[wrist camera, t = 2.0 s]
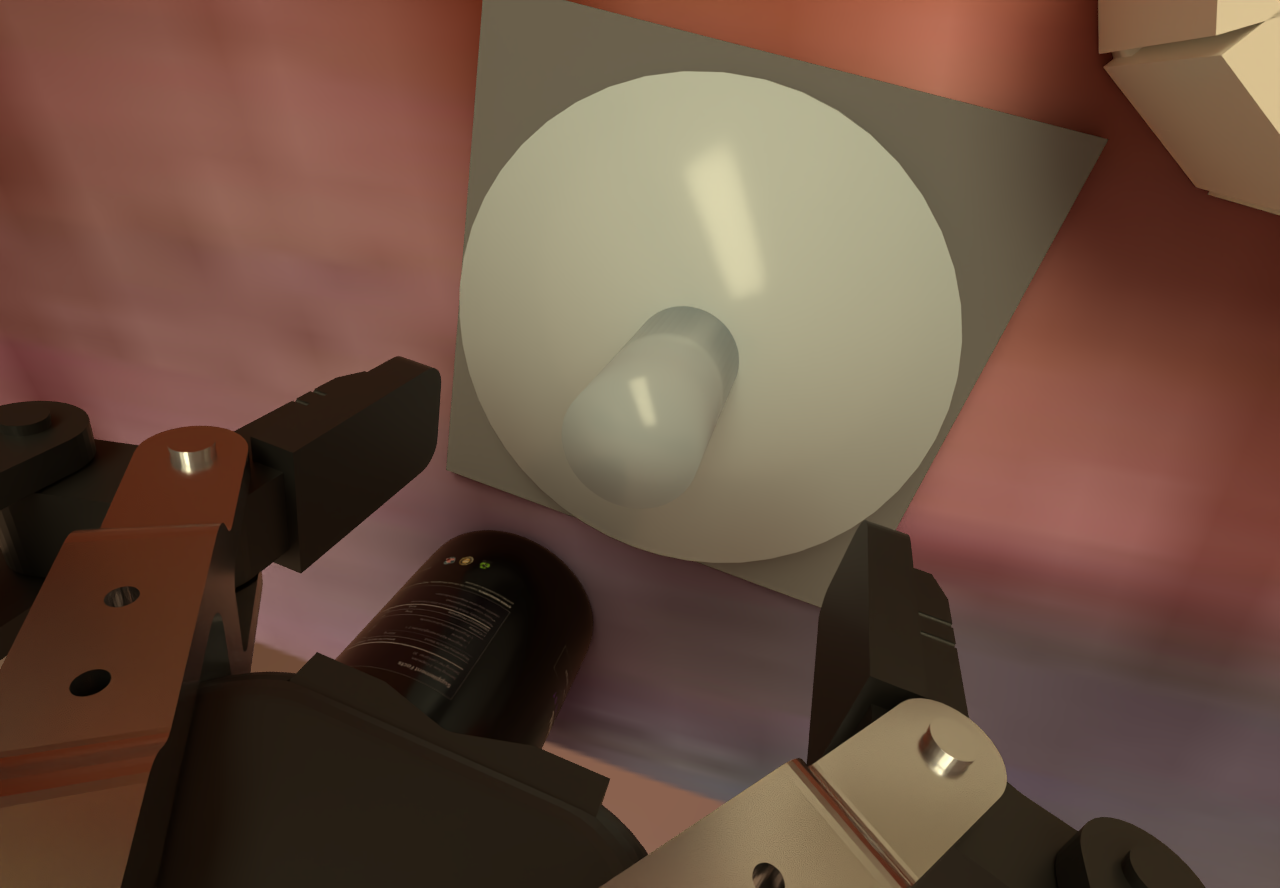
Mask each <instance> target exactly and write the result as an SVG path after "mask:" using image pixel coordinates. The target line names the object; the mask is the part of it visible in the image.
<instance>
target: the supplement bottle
mask: <svg viewBox="0 0 1280 888" xmlns="http://www.w3.org/2000/svg"><path fill="white" fill-rule="evenodd" d="M592 632H593V616H592V611H591V607H590V603H589V600H588V597H587V595H586V593H585V591H584V589H583V587H582V585H581V583H580V582H579V580H578V579H577V577H576V576H575V575H574V573H573V572H572V571H571V570H570V569H569V567H568V566H567V565H566V564H565V563H564V562H563V561H562V560H560V559H559V558H558V557H557V556H556V555H555V554H553V553H552V552H550V551H549V550H548V549H546V548H544V547H543V546H541V545H540V544H538V543H536V542H534V541H532V540H529V539H527V538H525V537H522V536H519V535H516V534H512V533H508V532H503V531H493V530H482V531H474V532H469V533H465V534H462V535H459V536H457V537H455V538H453V539H451V540H449V541H448V542H446V543H445V544H444V545H442V546H441V547H440V548H439V549H438V550H437V551H436V552H435V553H434V554H433V555H432V556H431V557H430V558H429V559H428V560H427V561H426V562H425V563H424V564H423V565H422V566H421V567H420V568H419V569H418V571H417V572H416V573H415V574H414V575H413V576H412V577H411V578H410V579H409V580H408V581H407V582H406V584H405V585H404V586H403V587H402V588H401V589H400V590H399V591H398V592H397V593H396V594H395V595H394V596H393V598H392V599H391V600H390V601H389V602H388V603H387V604H386V605H385V606H384V607H383V608H382V609H381V611H380V612H379V613H378V614H377V615H376V616H375V617H374V618H373V619H372V620H371V621H370V622H369V624H368V625H367V626H366V627H365V628H364V629H363V630H362V631H361V632H360V633H359V634H358V635H357V636H356V638H355V639H354V640H353V641H352V642H351V643H350V644H349V645H348V646H347V647H346V648H345V649H344V651H343V652H342V653H341V654H340V655H339V656H338V657H337V658H336V659H335V660H336V661H338V662H341V663H343V664H345V665H348V666H350V667H352V668H355V669H357V670H359V671H362V672H364V673H366V674H369V675H371V676H373V677H375V678H378V679H380V680H382V681H385V682H386V683H387V684H389V685H390V686H391V687H392V688H394V689H395V690H396V691H397V692H399V693H400V694H401V695H402V696H403V697H405V698H406V699H407V700H408V701H410V702H411V703H412V704H413V705H414V706H416V707H417V708H418V709H419V710H421V711H422V712H423V713H424V714H426V715H427V716H428V717H429V718H430V719H432V720H433V721H434V722H435V723H437V724H438V725H439V726H440V727H442V728H443V729H445V730H447V731H450V732H454V733H459V734H465V735H471V736H477V737H483V738H489V739H495V740H501V741H507V742H513V743H519V744H525V745H531V746H535V747H538V748H540V749H542V747H543V745H544V742H545V740H546V738H547V736H548V734H549V732H550V730H551V728H552V726H553V724H554V721H555V719H556V717H557V715H558V713H559V711H560V709H561V707H562V705H563V702H564V700H565V698H566V696H567V694H568V692H569V690H570V688H571V686H572V684H573V681H574V679H575V677H576V675H577V673H578V671H579V669H580V666H581V664H582V662H583V660H584V657H585V655H586V653H587V651H588V648H589V645H590V642H591V638H592Z"/></svg>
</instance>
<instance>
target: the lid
mask: <svg viewBox="0 0 1280 888" xmlns="http://www.w3.org/2000/svg"><path fill="white" fill-rule="evenodd" d="M459 316H460V325H461V334H462V343H463V348H464V353H465V357H466V361H467V366H468V370H469V374H470V377H471V379H472V382H473V385H474V388H475V391H476V393H477V396H478V399H479V401H480V403H481V405H482V407H483V410H484V412H485V414H486V416H487V418H488V420H489V422H490V424H491V426H492V427H493V429H494V431H495V432H496V434H497V435H498V437H499V439H500V440H501V442H502V443H503V445H504V447H505V448H506V450H507V451H508V452H509V453H510V455H511V456H512V457H513V459H514V460H515V461H516V462H517V464H518V465H519V466H520V468H521V469H522V470H523V471H524V472H525V473H526V474H527V475H528V476H529V477H530V478H531V479H532V480H533V482H534V483H535V484H536V485H537V486H538V487H539V488H540V489H541V490H542V491H543V492H545V493H546V494H547V495H548V496H549V497H550V498H552V499H553V500H554V501H555V502H556V503H558V504H559V505H560V506H561V507H562V508H564V509H565V510H567V511H568V512H569V513H571V514H572V515H574V516H575V517H577V518H578V519H580V520H581V521H583V522H584V523H586V524H587V525H589V526H591V527H593V528H595V529H596V530H598V531H600V532H602V533H604V534H606V535H607V536H609V537H612V538H614V539H616V540H619V541H621V542H623V543H626V544H628V545H630V546H633V547H636V548H639V549H642V550H645V551H649V552H652V553H655V554H658V555H663V556H667V557H672V558H677V559H682V560H688V561H699V562H710V563H742V562H750V561H758V560H766V559H772V558H776V557H780V556H784V555H788V554H792V553H797V552H800V551H802V550H805V549H808V548H810V547H813V546H816V545H818V544H821V543H824V542H826V541H828V540H830V539H832V538H834V537H836V536H837V535H839V534H841V533H843V532H845V531H847V530H849V529H851V528H852V527H854V526H855V525H857V524H858V523H860V522H861V521H862V520H864V519H865V518H867V517H868V516H870V515H871V514H873V513H874V512H875V511H877V510H878V509H879V508H880V507H881V506H882V505H883V504H884V503H885V502H886V501H888V500H889V499H890V498H891V497H892V496H893V495H894V494H895V493H896V492H898V490H899V489H900V488H901V487H902V486H903V485H904V483H905V482H906V481H907V480H908V479H909V477H910V476H911V475H912V474H913V473H914V471H915V470H916V469H917V468H918V467H919V465H920V463H921V462H922V460H923V459H924V457H925V455H926V454H927V452H928V451H929V449H930V447H931V446H932V444H933V443H934V441H935V439H936V437H937V435H938V433H939V430H940V428H941V426H942V424H943V421H944V419H945V417H946V415H947V412H948V410H949V407H950V403H951V399H952V396H953V392H954V389H955V385H956V381H957V378H958V371H959V363H960V355H961V347H962V320H961V302H960V297H959V291H958V286H957V280H956V275H955V269H954V266H953V263H952V260H951V257H950V254H949V251H948V248H947V245H946V243H945V240H944V237H943V234H942V231H941V229H940V227H939V226H938V224H937V222H936V220H935V218H934V216H933V214H932V212H931V210H930V208H929V207H928V205H927V203H926V201H925V199H924V197H923V195H922V194H921V192H920V191H919V189H918V188H917V187H916V185H915V184H914V183H913V181H912V180H911V178H910V177H909V176H908V174H907V173H906V172H905V170H904V169H903V168H902V166H901V165H900V164H899V162H898V161H897V160H896V159H895V158H894V157H893V156H892V155H891V154H890V153H889V152H888V151H887V150H886V149H885V148H884V147H883V146H882V145H881V144H880V143H879V142H878V141H877V140H876V139H875V138H874V137H873V136H872V135H871V134H870V133H869V132H868V131H866V130H865V129H864V128H862V127H861V126H860V125H858V124H857V123H855V122H854V121H853V120H851V119H850V118H849V117H847V116H846V115H845V114H843V113H842V112H840V111H839V110H837V109H835V108H834V107H832V106H830V105H828V104H826V103H824V102H822V101H820V100H818V99H816V98H814V97H812V96H810V95H809V94H807V93H805V92H802V91H799V90H796V89H793V88H790V87H787V86H784V85H781V84H779V83H776V82H773V81H770V80H766V79H760V78H755V77H749V76H743V75H738V74H732V73H725V72H694V71H681V72H674V73H666V74H659V75H651V76H644V77H641V78H638V79H634V80H631V81H627V82H624V83H620V84H617V85H614V86H610V87H608V88H606V89H603V90H601V91H599V92H597V93H595V94H593V95H591V96H588V97H586V98H584V99H582V100H580V101H578V102H576V103H574V104H573V105H571V106H570V107H568V108H567V109H565V110H564V111H562V112H561V113H559V114H558V115H556V116H555V117H553V118H552V119H550V120H549V121H547V122H546V123H545V124H544V125H543V126H542V127H541V128H540V129H539V130H537V131H536V132H535V133H534V134H533V135H532V136H531V137H530V138H529V139H528V140H526V141H525V142H524V143H523V144H522V145H521V146H520V148H519V149H518V150H517V151H516V152H515V154H514V155H513V156H512V157H511V159H510V160H509V161H508V162H507V163H506V165H505V166H504V167H503V168H502V170H501V171H500V173H499V174H498V176H497V178H496V179H495V181H494V183H493V184H492V186H491V188H490V189H489V191H488V193H487V194H486V196H485V198H484V200H483V202H482V205H481V207H480V209H479V212H478V214H477V216H476V219H475V221H474V223H473V226H472V229H471V232H470V236H469V240H468V243H467V247H466V251H465V254H464V259H463V267H462V274H461V281H460V314H459Z"/></svg>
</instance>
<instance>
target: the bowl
mask: <svg viewBox="0 0 1280 888" xmlns="http://www.w3.org/2000/svg"><path fill="white" fill-rule="evenodd" d="M1098 32H1099V54H1102V53H1108V52H1112V56H1113V58H1114V59H1113V60H1111V61H1110V62H1109V63H1108V64H1107V65H1105V66H1104V67H1103V68H1104V69H1105V70H1106V72H1107V73H1108V74H1109V75H1110V77H1111V78H1112V79H1113V81H1114V82H1115V83H1116V84H1117V86H1118V87H1119V88H1120V90H1121V91H1122V92H1123V94H1124V95H1125V96H1126V97H1127V99H1128V100H1129V101H1130V103H1131V104H1132V105H1133V106H1134V108H1135V109H1136V110H1137V112H1138V113H1139V114H1140V116H1141V117H1142V118H1143V119H1144V121H1145V122H1146V123H1147V125H1148V126H1149V127H1150V128H1151V130H1152V131H1153V132H1154V134H1155V135H1156V136H1157V137H1158V139H1159V140H1160V141H1161V143H1162V144H1163V145H1164V147H1165V148H1166V149H1167V150H1168V152H1169V153H1170V154H1171V156H1172V157H1173V158H1174V159H1175V161H1176V162H1177V163H1178V165H1179V166H1180V167H1181V168H1182V170H1183V171H1184V172H1185V174H1186V175H1187V176H1188V178H1189V179H1190V180H1191V181H1192V183H1193V184H1194V185H1195V187H1196V188H1200V189H1204V190H1207V191H1209V193H1208V194H1207V195H1211V196H1214V197H1218V198H1221V199H1225V200H1228V201H1232V202H1235V203H1239V204H1242V205H1245V206H1249V207H1252V208H1256V209H1259V210H1263V211H1266V212H1270V213H1273V214H1277V215H1280V0H1098Z"/></svg>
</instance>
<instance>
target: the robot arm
mask: <svg viewBox="0 0 1280 888" xmlns="http://www.w3.org/2000/svg"><path fill="white" fill-rule="evenodd" d="M440 392H441V376H440V373H439V371H438V370H437V369H435V368H432V367H429V366H427V365H424V364H421V363H418V362H415V361H412V360H409V359H406V358H404V357H400V356H398V357H394V358H392V359H390V360H388V361H387V362H385V363H383V364H381V365H379V366H378V367H376V368H374V369H372V370H370V371H368V372H365V371H364V372H359V373H355V374H351V375H346V376H342V377H337V378H335V379H333V380H331V381H329V382H327V383H325V384H323V385H322V386H320V387H318V388H316V389H315V390H314V392H311V391H310V392H308V393H306V394H304V395H302V396H301V397H299V398H297V400H296V402H294V401H291V402H289V403H287V404H285V405H283V406H282V407H280V408H278V409H276V410H274V411H272V412H270V413H268V414H266V415H264V416H263V417H261V418H259V419H257V420H255V421H253V422H251V423H249V424H247V425H245V426H243V427H242V428H240V429H238V430H236V431H231V430H228V429H224V428H220V427H212V426H189V427H181V428H176V429H171V430H167V431H164V432H161V433H159V434H156V435H154V436H152V437H150V438H148V439H146V440H145V441H143V442H142V443H141V444H140V445H132V444H125V443H118V442H111V441H104V440H97V439H94V437H93V433H92V429H91V425H90V421H89V417H88V415H87V414H86V412H85V411H83V410H82V409H80V408H78V407H76V406H74V405H70V404H66V403H61V402H52V401H29V402H19V403H12V404H7V405H2V406H0V660H1V659H3V658H4V657H5V656H7V657H6V659H5V661H4V663H3V665H2V667H1V669H0V888H1205V886H1204V885H1203V884H1202V882H1201V881H1200V879H1199V878H1198V877H1197V876H1196V875H1195V873H1194V872H1193V871H1192V870H1191V869H1190V868H1189V866H1188V865H1187V864H1186V863H1185V862H1184V861H1183V860H1182V859H1181V858H1180V857H1179V856H1178V855H1176V854H1175V853H1174V852H1173V851H1172V850H1171V849H1169V848H1168V847H1167V846H1166V845H1165V844H1163V843H1162V842H1161V841H1159V840H1158V839H1157V838H1155V837H1154V836H1152V835H1151V834H1149V833H1147V832H1146V831H1144V830H1142V829H1140V828H1138V827H1136V826H1135V825H1133V824H1130V823H1128V822H1125V821H1122V820H1119V819H1114V818H1108V817H1100V818H1095V819H1093V820H1091V821H1089V822H1087V823H1086V824H1085V825H1084V826H1083V827H1082V828H1081V829H1080V830H1079V831H1076V830H1075V829H1073V828H1072V827H1070V826H1069V825H1067V824H1066V823H1064V822H1063V821H1061V820H1060V819H1058V818H1057V817H1055V816H1054V815H1052V814H1051V813H1049V812H1048V811H1046V810H1045V809H1043V808H1042V807H1040V806H1039V805H1038V804H1036V803H1035V802H1033V801H1032V800H1030V799H1029V798H1027V797H1026V796H1024V795H1023V794H1022V793H1020V792H1019V791H1017V790H1016V789H1015V788H1014V787H1013V786H1012V785H1010V784H1009V783H1008V782H1007V775H1006V769H1005V766H1004V763H1003V760H1002V758H1001V756H1000V754H999V752H998V750H997V749H996V747H995V746H994V744H993V743H992V741H991V740H990V739H989V738H988V736H987V735H986V734H985V733H984V732H983V731H982V730H981V729H980V728H979V727H978V726H977V725H976V724H975V723H974V722H972V721H971V720H970V719H969V716H968V711H967V705H966V699H965V694H964V688H963V682H962V676H961V671H960V665H959V659H958V654H957V648H954V647H955V644H956V642H955V636H954V631H953V628H951V625H952V619H951V614H950V608H949V602H948V599H947V597H946V596H945V594H944V592H943V591H942V589H941V588H940V586H939V585H938V583H937V582H936V580H935V579H934V577H933V576H932V574H929V573H927V572H924V571H921V570H918V569H915V568H913V559H912V550H911V541H910V537H909V535H908V534H905V533H902V532H899V531H896V530H893V529H890V528H888V527H885V526H882V525H879V524H876V523H873V522H870V521H867V520H864V521H862V522H861V524H860V525H859V527H858V528H857V530H856V532H855V534H854V536H853V538H852V540H851V542H850V544H849V546H848V548H847V550H846V552H845V554H844V556H843V558H842V560H841V562H840V564H839V566H838V568H837V570H836V573H835V575H834V577H833V579H832V581H831V583H830V585H829V587H828V589H827V592H826V594H825V597H824V600H823V603H822V607H821V611H820V615H819V622H818V634H817V646H816V659H815V671H814V683H813V696H812V708H811V720H810V732H809V745H808V757H807V765H806V763H805V762H804V761H803V760H802V759H800V758H798V759H794V760H791V761H789V762H787V763H785V764H784V765H782V766H781V767H779V768H778V769H776V770H775V771H773V772H772V773H770V774H769V775H767V776H766V777H764V778H763V779H761V780H760V781H758V782H757V783H755V784H754V785H752V786H751V787H749V788H748V789H746V790H745V791H743V792H742V793H740V794H739V795H737V796H736V797H734V798H733V799H731V800H730V801H728V802H727V803H725V804H724V805H722V806H721V807H719V808H718V809H716V810H715V811H713V812H712V813H710V814H709V815H707V816H706V817H704V818H703V819H701V820H700V821H698V822H697V823H695V824H694V825H692V826H691V827H689V828H688V829H686V830H685V831H683V832H682V833H680V834H679V835H677V836H676V837H674V838H673V839H671V840H670V841H668V842H667V843H665V844H664V845H662V846H661V847H659V848H658V849H656V850H655V851H653V852H652V853H650V854H649V855H648V854H647V852H646V850H645V849H644V847H643V846H642V845H641V844H640V842H639V841H638V840H637V839H636V837H635V836H634V835H633V833H632V832H631V831H630V830H629V829H628V828H627V827H626V826H625V825H624V824H623V823H622V822H621V821H620V820H619V819H618V818H617V817H616V816H615V815H614V814H613V813H611V812H610V811H609V810H608V809H606V808H605V807H604V806H603V805H602V802H603V799H604V796H605V792H606V790H607V787H608V784H609V780H610V779H609V778H607V777H605V776H603V775H600V774H598V773H595V772H593V771H590V770H588V769H586V768H584V767H582V766H579V765H577V764H575V763H572V762H570V761H568V760H565V759H563V758H561V757H558V756H556V755H554V754H551V753H549V752H547V751H545V750H542V749H540V748H538V747H535V746H531V745H525V744H519V743H513V742H507V741H501V740H495V739H489V738H483V737H477V736H471V735H465V734H459V733H454V732H450V731H447V730H445V729H443V728H442V727H440V726H439V725H438V724H437V723H435V722H434V721H433V720H432V719H430V718H429V717H428V716H427V715H426V714H424V713H423V712H422V711H421V710H419V709H418V708H417V707H416V706H414V705H413V704H412V703H411V702H410V701H408V700H407V699H406V698H405V697H403V696H402V695H401V694H400V693H399V692H397V691H396V690H395V689H394V688H392V687H391V686H390V685H389V684H387V683H386V682H385V681H382V680H380V679H378V678H375V677H373V676H371V675H369V674H366V673H364V672H362V671H359V670H357V669H355V668H352V667H350V666H348V665H345V664H343V663H341V662H338V661H336V660H334V659H331V658H329V657H327V656H325V655H322V654H320V653H318V652H317V653H316V654H315V655H314V656H313V657H312V658H311V659H310V660H309V661H308V662H307V663H306V664H305V665H304V666H303V667H302V668H301V669H300V670H299V671H298V672H297V673H296V674H295V673H286V672H285V673H284V672H255V673H250V671H251V664H252V656H253V649H254V642H255V635H256V628H257V621H258V614H259V607H260V600H261V593H262V586H263V579H262V570H263V569H265V568H266V567H267V566H269V565H270V564H271V563H272V562H274V563H277V564H279V565H282V566H284V567H287V568H289V569H291V570H294V571H296V572H299V573H302V572H303V571H304V570H306V569H307V568H308V567H309V566H310V565H312V564H313V563H314V562H315V561H316V560H318V559H319V558H320V557H321V556H322V555H323V554H325V553H326V552H327V551H328V550H329V549H331V548H332V547H333V546H334V545H335V544H337V543H338V542H339V541H340V540H341V539H342V538H344V537H345V536H346V535H347V534H348V533H350V532H351V531H352V530H353V529H354V528H356V527H357V526H358V525H359V524H360V523H361V522H363V521H364V520H365V519H366V518H367V517H369V516H370V515H371V514H372V513H373V512H375V511H376V510H377V509H378V508H379V507H380V506H382V505H383V504H384V503H385V502H386V501H388V500H389V499H390V498H391V497H392V496H394V495H395V494H396V493H397V492H398V491H399V490H401V489H402V488H403V487H404V486H405V485H407V484H408V483H409V482H410V481H411V480H413V479H414V478H415V477H416V476H417V475H418V474H420V473H421V472H422V471H423V470H424V469H425V468H426V467H427V465H428V464H429V462H430V460H431V459H432V456H433V454H434V452H435V448H436V444H437V436H438V421H439V407H440Z"/></svg>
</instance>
